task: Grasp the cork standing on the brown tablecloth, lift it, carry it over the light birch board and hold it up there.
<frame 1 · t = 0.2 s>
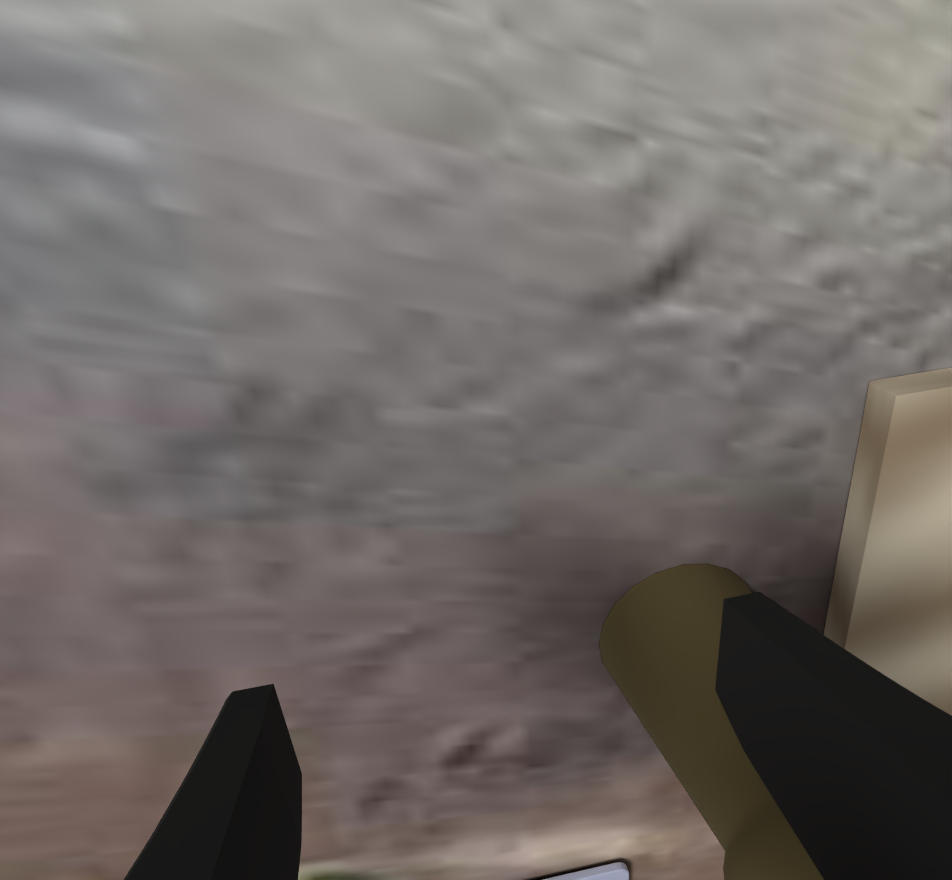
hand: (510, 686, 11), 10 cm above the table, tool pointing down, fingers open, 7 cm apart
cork: (675, 626, 26), on the table
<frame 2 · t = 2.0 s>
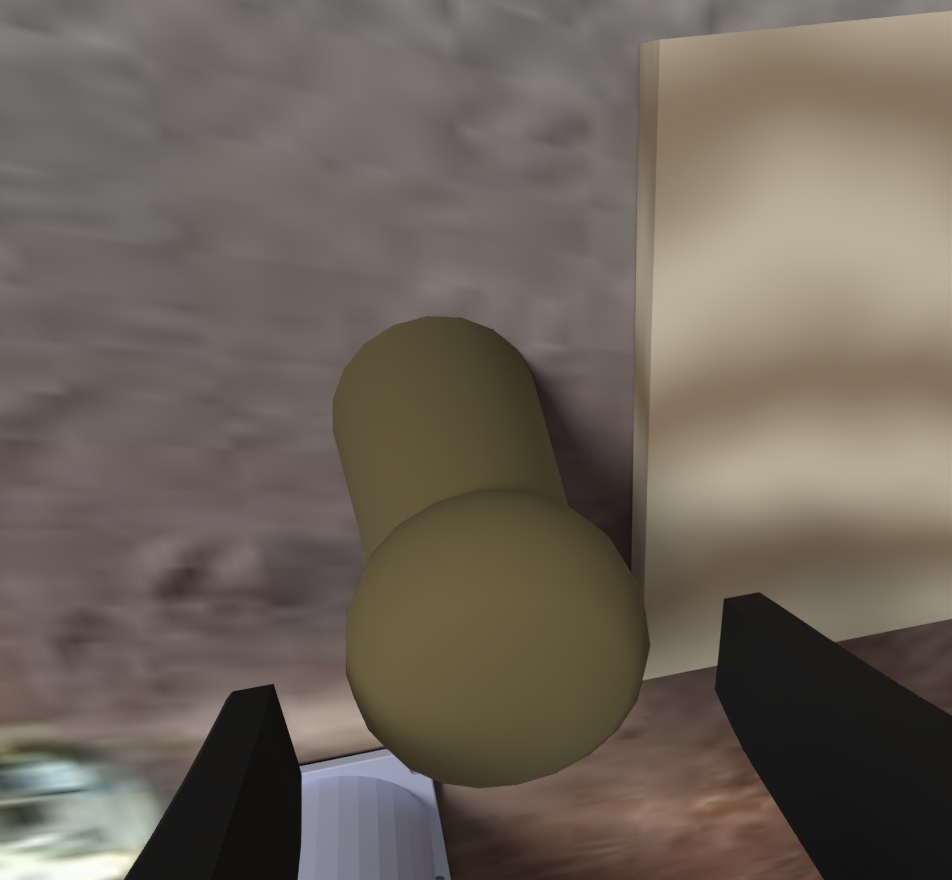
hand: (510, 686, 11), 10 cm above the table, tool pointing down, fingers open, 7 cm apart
birch board: (844, 383, 22), on the table
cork: (436, 413, 20), on the table
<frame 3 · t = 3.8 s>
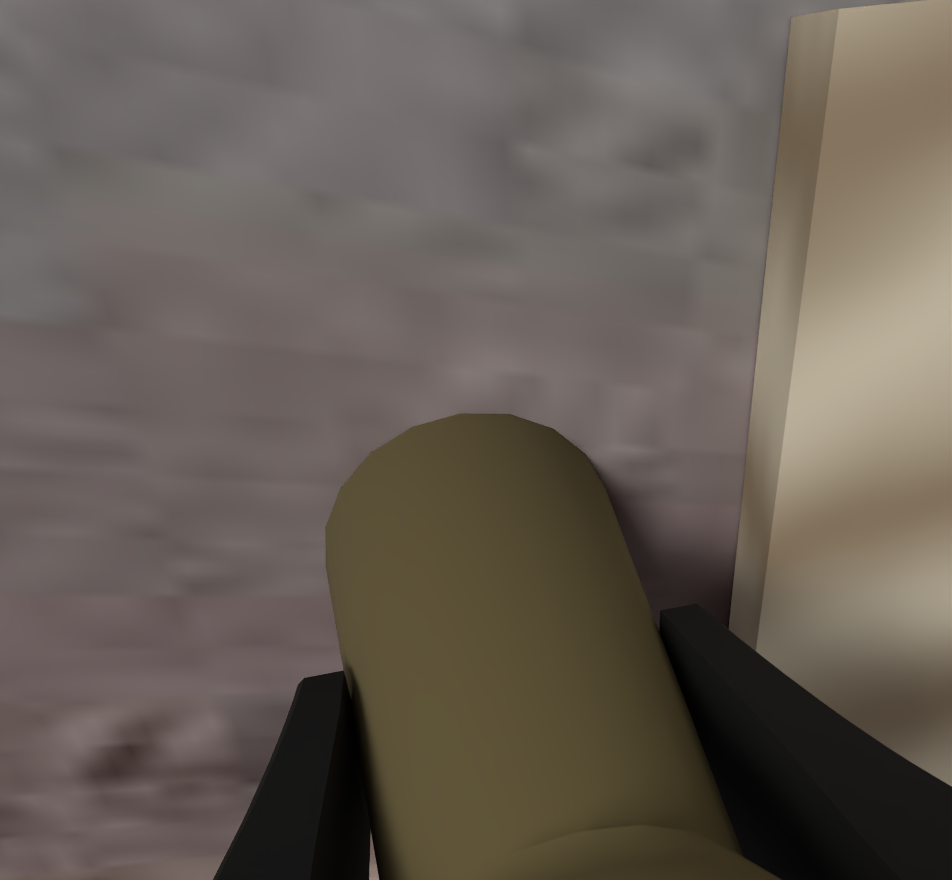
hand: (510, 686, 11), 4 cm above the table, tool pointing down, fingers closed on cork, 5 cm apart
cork: (470, 538, 15), on the table, touching gripper
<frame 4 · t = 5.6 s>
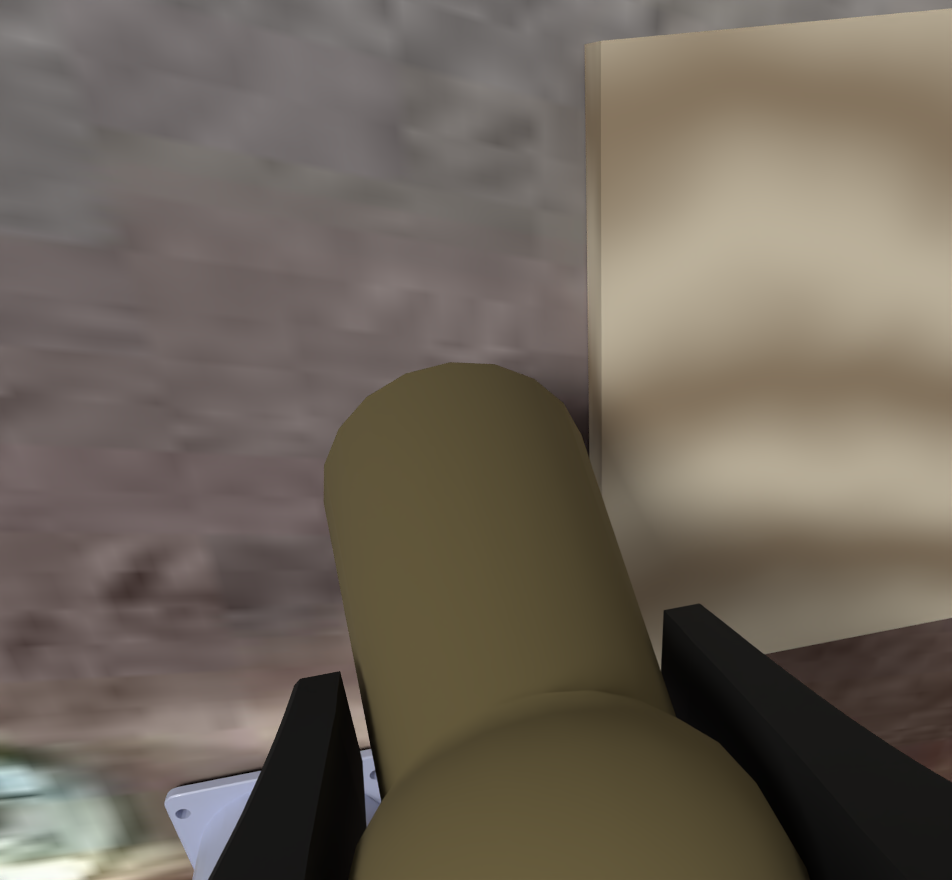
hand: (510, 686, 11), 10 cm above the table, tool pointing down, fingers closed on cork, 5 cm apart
birch board: (802, 387, 22), on the table
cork: (456, 480, 16), point 5 cm above the table, touching gripper
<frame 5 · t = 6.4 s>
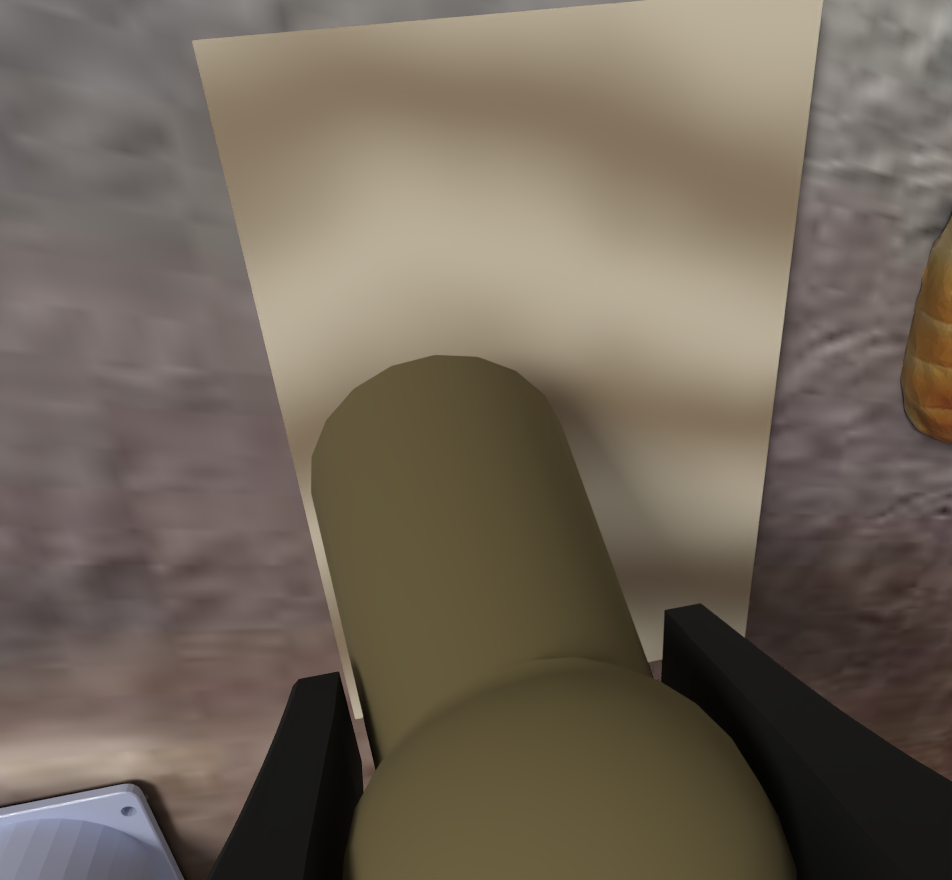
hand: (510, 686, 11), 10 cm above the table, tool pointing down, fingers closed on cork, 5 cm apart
birch board: (533, 407, 21), on the table
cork: (441, 470, 16), point 4 cm above the table, touching gripper
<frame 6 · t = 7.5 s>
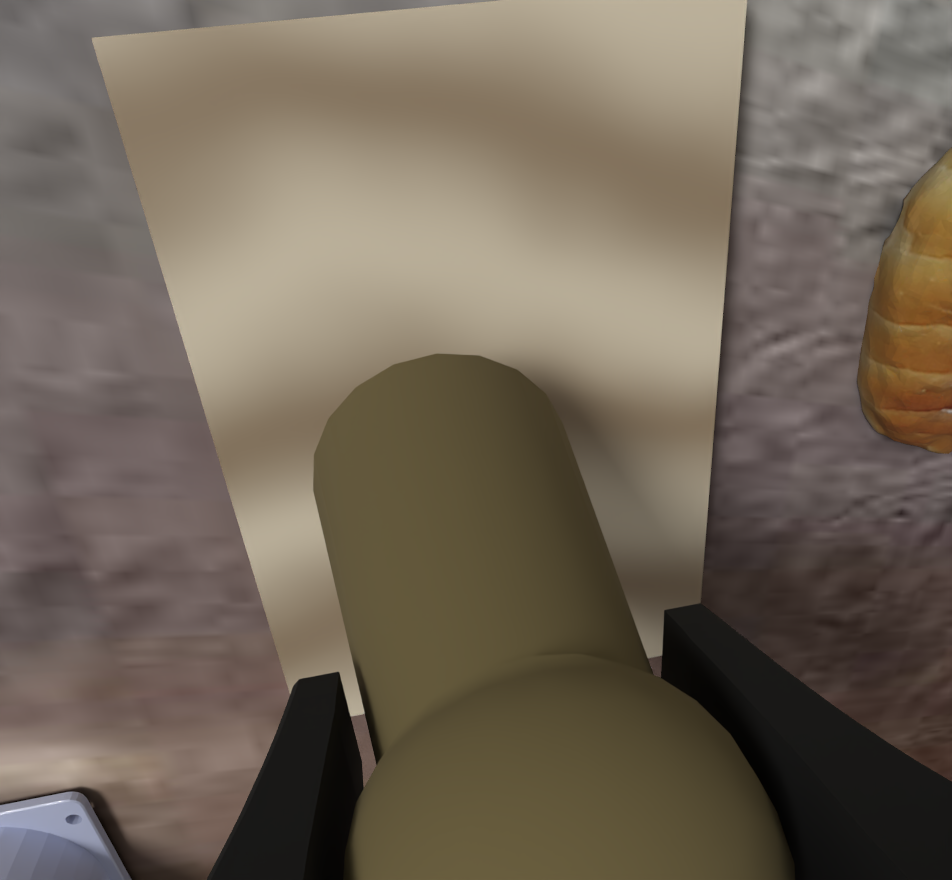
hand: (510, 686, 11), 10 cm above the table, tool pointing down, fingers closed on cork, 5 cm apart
birch board: (471, 410, 20), on the table
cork: (442, 469, 16), point 4 cm above the table, touching gripper
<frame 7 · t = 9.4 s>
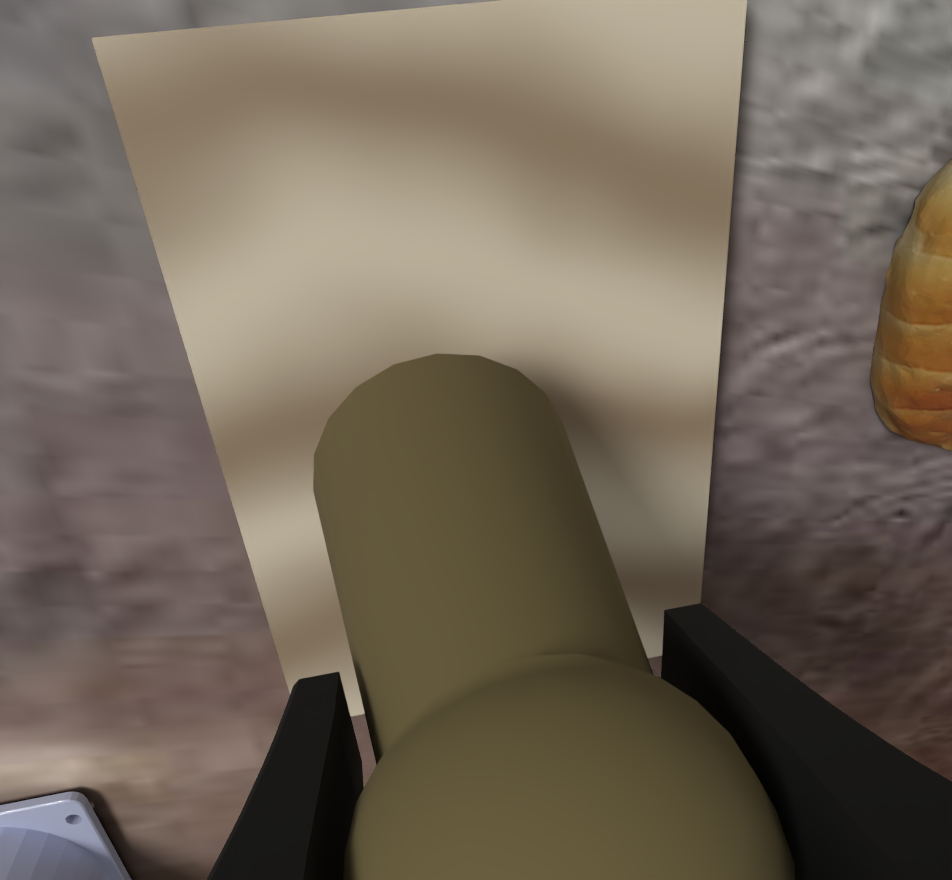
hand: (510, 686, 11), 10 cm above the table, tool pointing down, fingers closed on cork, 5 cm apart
birch board: (471, 410, 20), on the table
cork: (442, 469, 16), point 4 cm above the table, touching gripper
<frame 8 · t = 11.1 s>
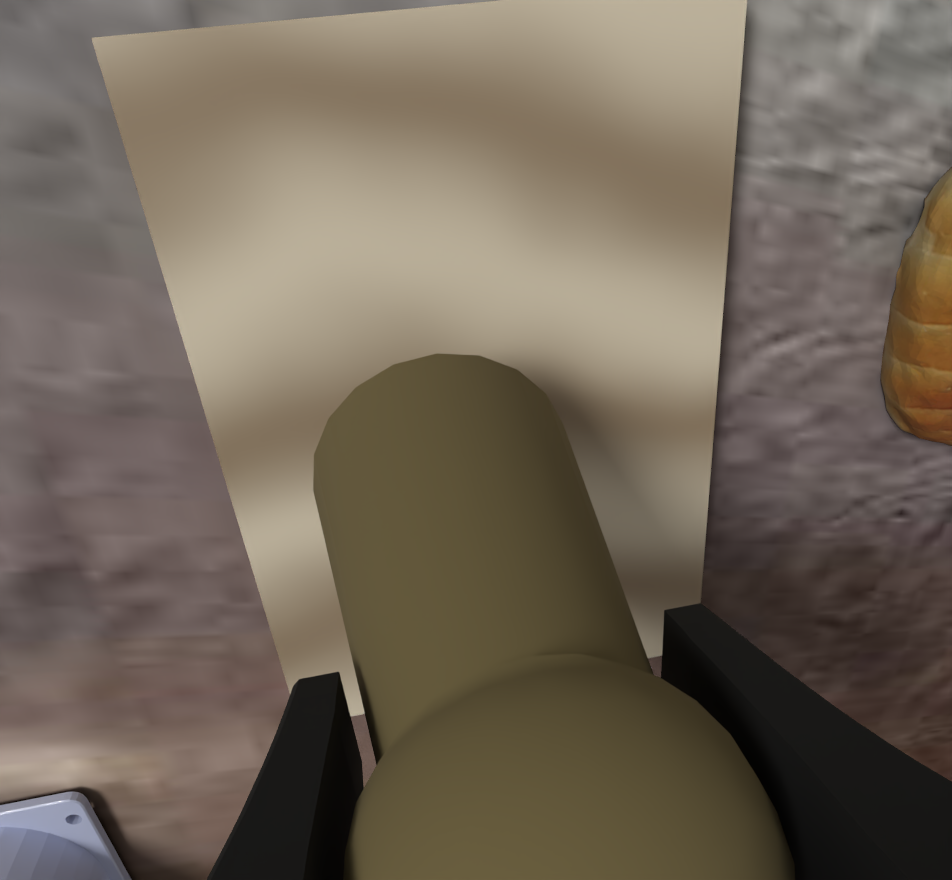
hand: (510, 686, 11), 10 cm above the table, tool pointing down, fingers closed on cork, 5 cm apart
birch board: (471, 410, 20), on the table
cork: (442, 469, 16), point 4 cm above the table, touching gripper
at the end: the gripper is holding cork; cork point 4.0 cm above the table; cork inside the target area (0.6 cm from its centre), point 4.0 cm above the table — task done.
